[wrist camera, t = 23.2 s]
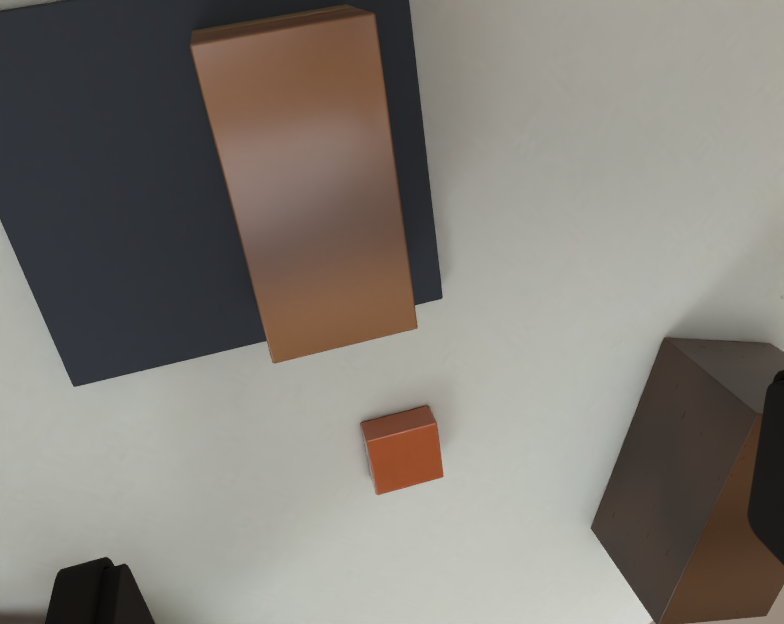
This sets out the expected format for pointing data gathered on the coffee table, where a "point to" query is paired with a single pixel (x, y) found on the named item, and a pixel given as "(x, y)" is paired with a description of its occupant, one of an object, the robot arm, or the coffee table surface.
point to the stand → (694, 486)
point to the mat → (154, 177)
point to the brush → (310, 175)
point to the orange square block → (402, 449)
